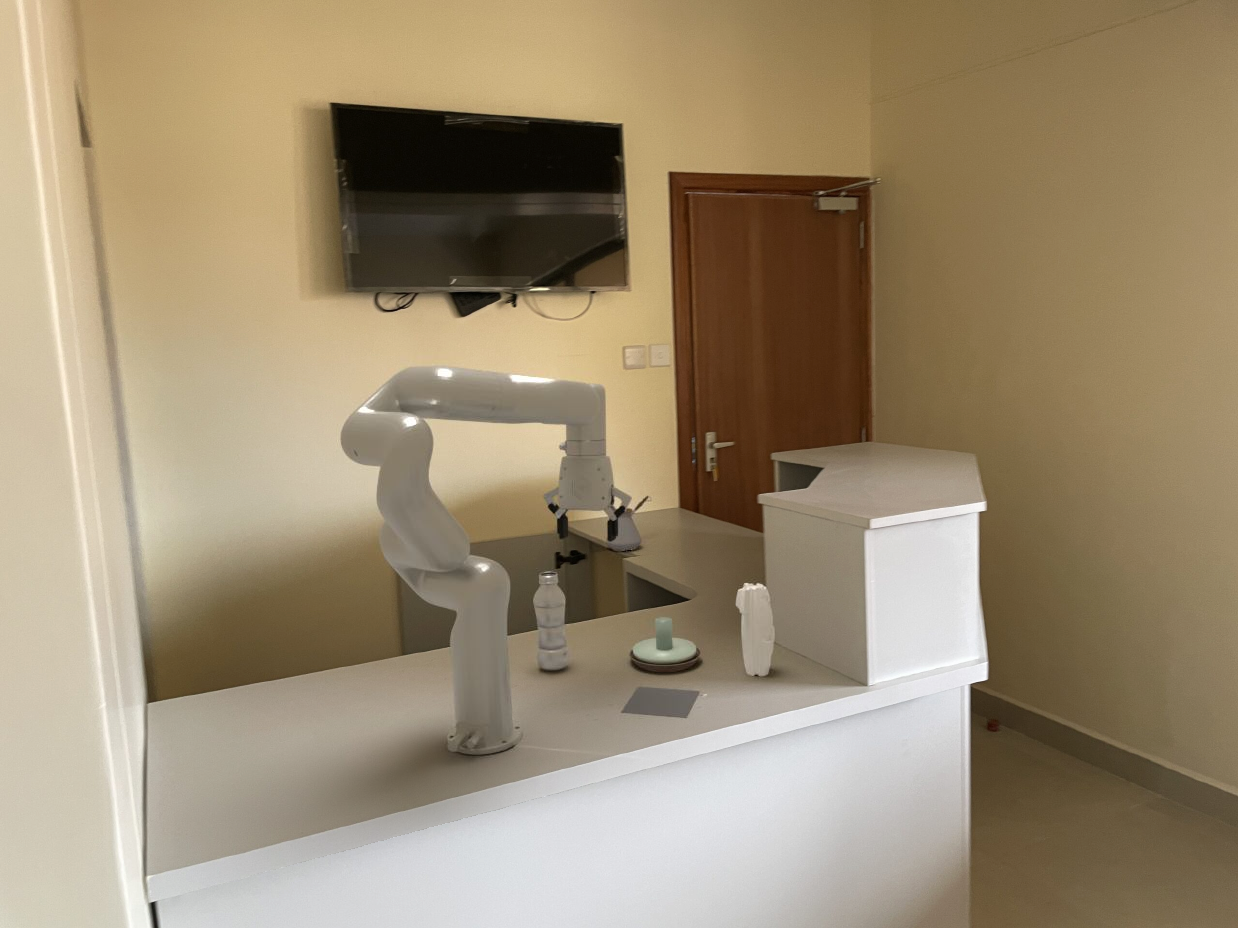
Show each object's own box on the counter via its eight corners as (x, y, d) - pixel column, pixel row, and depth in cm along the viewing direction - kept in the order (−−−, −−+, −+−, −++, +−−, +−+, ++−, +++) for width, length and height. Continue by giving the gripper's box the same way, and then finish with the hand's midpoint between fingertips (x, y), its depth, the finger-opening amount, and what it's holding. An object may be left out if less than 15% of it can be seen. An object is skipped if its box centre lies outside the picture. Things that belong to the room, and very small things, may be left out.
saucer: (647, 648, 191) (647, 636, 191) (711, 657, 184) (711, 644, 184) (617, 672, 178) (617, 659, 178) (685, 682, 171) (684, 669, 171)
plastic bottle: (565, 674, 177) (560, 578, 174) (533, 673, 178) (527, 577, 176) (573, 663, 183) (568, 570, 180) (542, 662, 185) (536, 569, 182)
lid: (688, 665, 173) (687, 631, 172) (625, 661, 177) (624, 627, 176) (701, 643, 185) (700, 611, 184) (642, 640, 189) (641, 608, 188)
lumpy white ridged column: (736, 679, 171) (775, 680, 169) (733, 590, 168) (772, 590, 167) (739, 667, 177) (776, 668, 176) (736, 580, 175) (773, 580, 173)
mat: (686, 719, 154) (686, 717, 154) (620, 714, 157) (620, 712, 157) (700, 692, 165) (699, 690, 165) (638, 688, 168) (638, 686, 168)
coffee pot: (628, 554, 275) (626, 507, 273) (599, 550, 282) (597, 505, 280) (665, 540, 292) (663, 496, 290) (636, 537, 299) (634, 494, 297)
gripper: (535, 450, 164) (537, 540, 166) (624, 451, 159) (625, 544, 161) (550, 447, 171) (552, 533, 173) (636, 448, 166) (636, 537, 168)
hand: (587, 539), depth 167 cm, fingers open, 9 cm apart
